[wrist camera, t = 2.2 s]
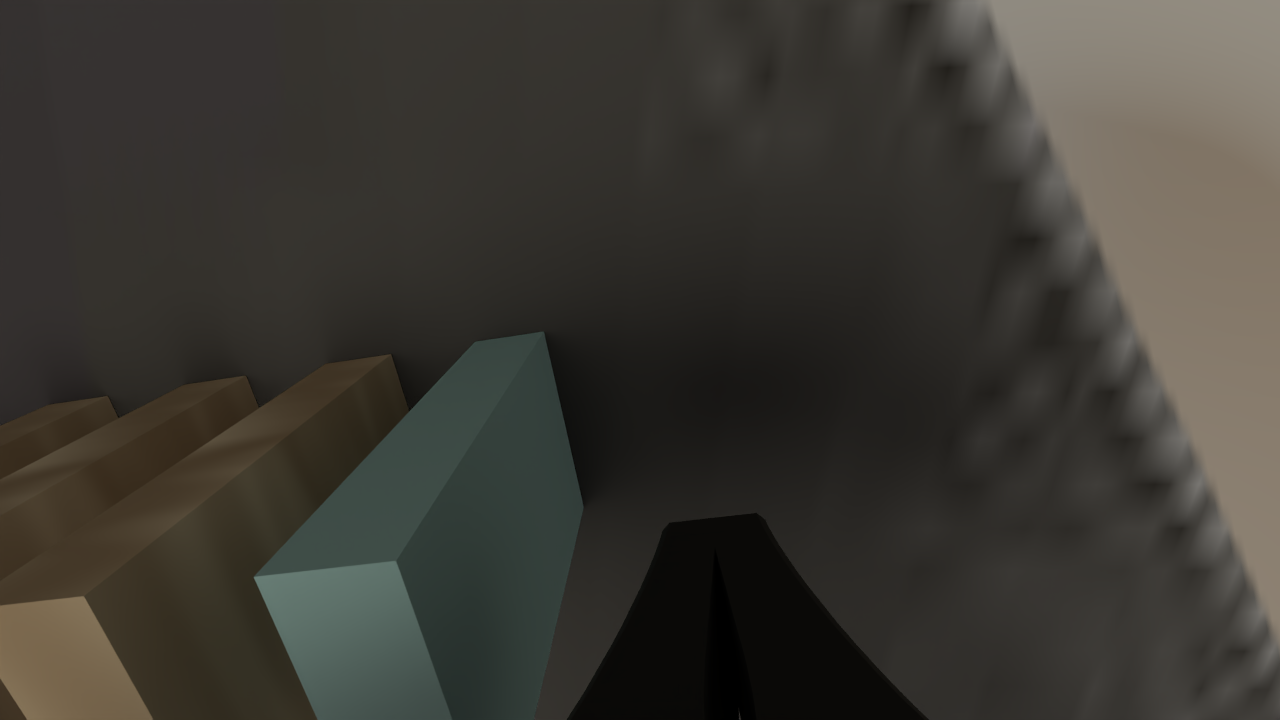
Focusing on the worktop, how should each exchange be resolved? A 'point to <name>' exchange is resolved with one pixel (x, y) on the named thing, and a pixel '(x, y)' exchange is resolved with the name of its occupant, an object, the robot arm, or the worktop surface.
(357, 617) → the domino
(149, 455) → the domino
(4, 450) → the domino
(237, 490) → the domino
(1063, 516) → the worktop surface
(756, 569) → the robot arm
